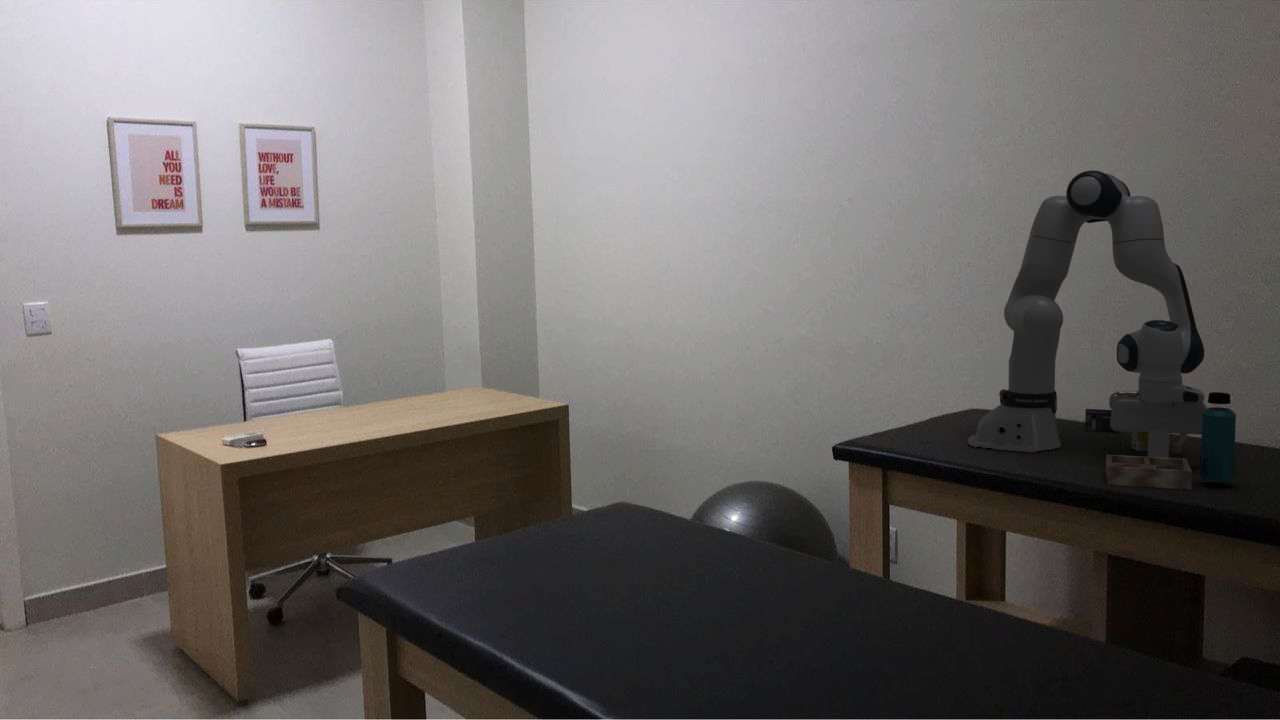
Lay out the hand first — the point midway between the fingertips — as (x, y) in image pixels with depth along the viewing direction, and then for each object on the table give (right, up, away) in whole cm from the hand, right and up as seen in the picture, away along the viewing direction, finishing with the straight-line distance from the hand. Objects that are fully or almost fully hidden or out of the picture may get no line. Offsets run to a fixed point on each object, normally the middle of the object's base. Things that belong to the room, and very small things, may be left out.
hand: (1158, 451), depth 227 cm
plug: (0, -4, 0) cm, 4 cm away
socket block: (-8, -5, -11) cm, 15 cm away
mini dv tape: (+6, +1, +40) cm, 41 cm away
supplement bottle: (+6, -1, +18) cm, 19 cm away
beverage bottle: (+4, -6, -17) cm, 18 cm away
